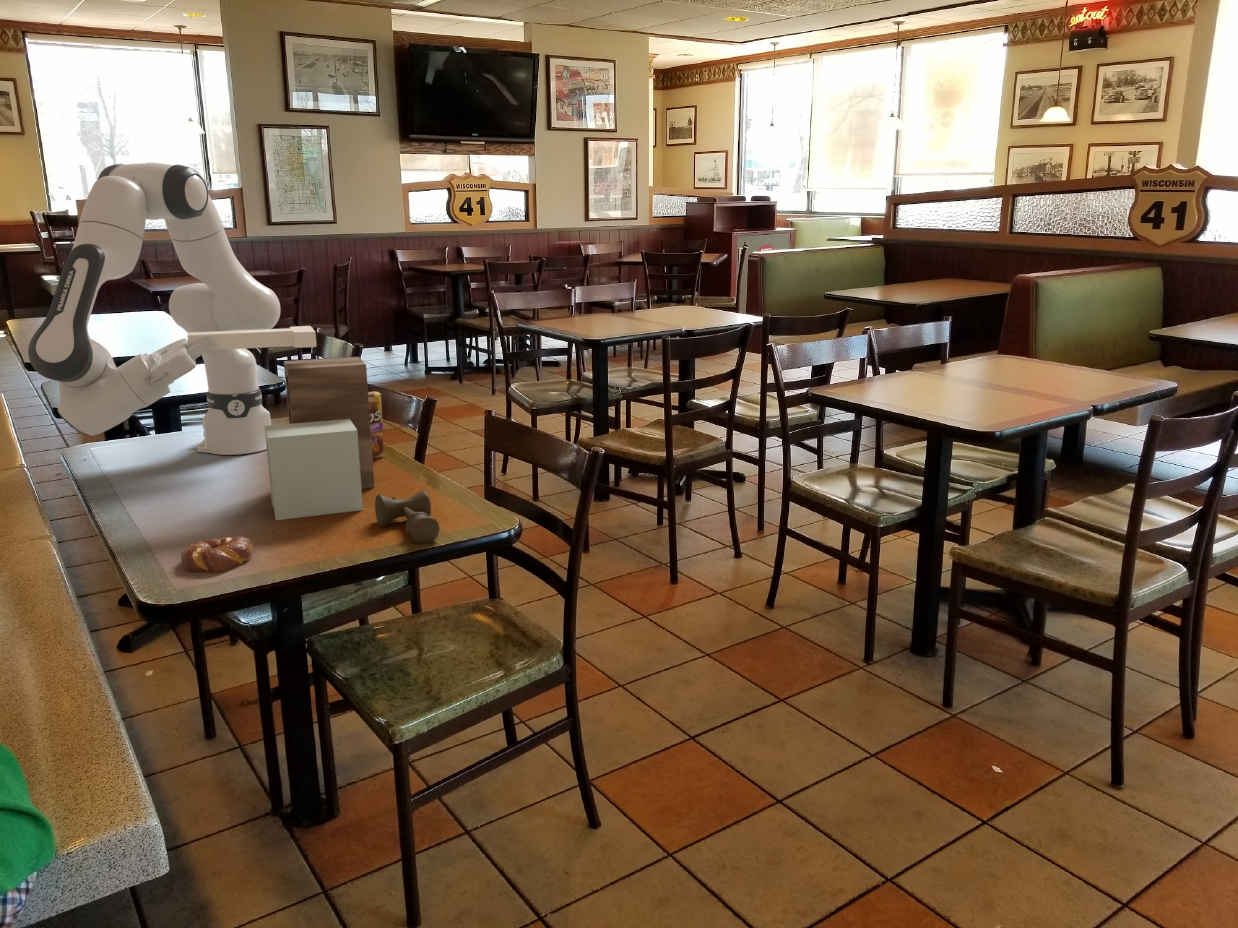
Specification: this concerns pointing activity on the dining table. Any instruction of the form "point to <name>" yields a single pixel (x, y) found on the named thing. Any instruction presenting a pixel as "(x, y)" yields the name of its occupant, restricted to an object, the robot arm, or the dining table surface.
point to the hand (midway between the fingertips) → (212, 338)
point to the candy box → (376, 424)
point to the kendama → (409, 515)
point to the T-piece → (257, 338)
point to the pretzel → (216, 554)
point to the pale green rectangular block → (314, 468)
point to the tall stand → (332, 399)
